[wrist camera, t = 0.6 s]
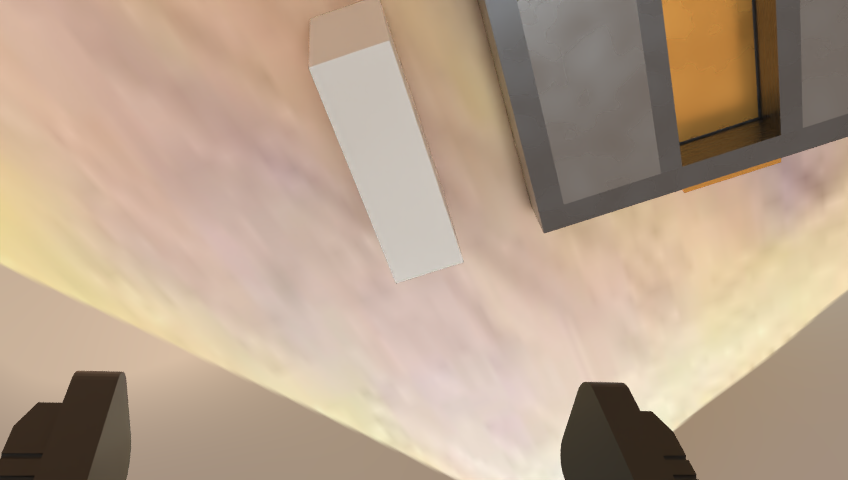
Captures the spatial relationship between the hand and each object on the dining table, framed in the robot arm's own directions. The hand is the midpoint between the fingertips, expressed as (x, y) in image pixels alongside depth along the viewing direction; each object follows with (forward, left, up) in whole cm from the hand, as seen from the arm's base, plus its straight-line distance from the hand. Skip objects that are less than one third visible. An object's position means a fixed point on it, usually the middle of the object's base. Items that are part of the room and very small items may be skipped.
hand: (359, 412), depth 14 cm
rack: (-15, +4, -22) cm, 27 cm away
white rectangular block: (-1, +4, -22) cm, 23 cm away
